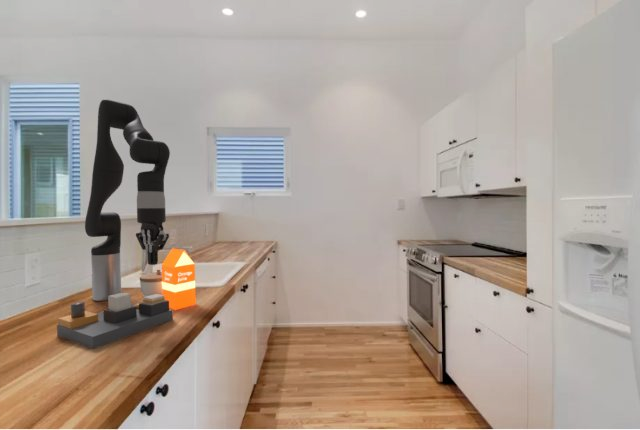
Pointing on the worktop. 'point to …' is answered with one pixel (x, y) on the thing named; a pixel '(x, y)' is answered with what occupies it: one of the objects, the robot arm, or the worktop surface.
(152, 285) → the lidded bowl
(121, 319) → the breaker panel
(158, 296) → the breaker tagged
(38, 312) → the worktop surface
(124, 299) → the breaker plain
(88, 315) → the cap
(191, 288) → the orange juice
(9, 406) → the worktop surface
